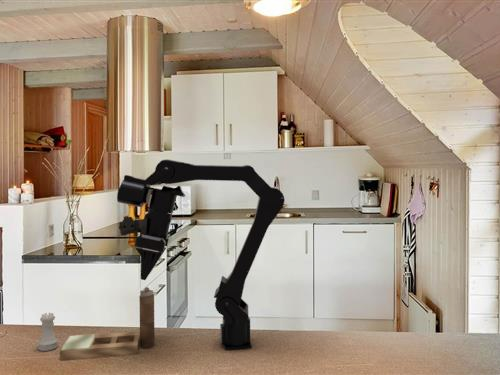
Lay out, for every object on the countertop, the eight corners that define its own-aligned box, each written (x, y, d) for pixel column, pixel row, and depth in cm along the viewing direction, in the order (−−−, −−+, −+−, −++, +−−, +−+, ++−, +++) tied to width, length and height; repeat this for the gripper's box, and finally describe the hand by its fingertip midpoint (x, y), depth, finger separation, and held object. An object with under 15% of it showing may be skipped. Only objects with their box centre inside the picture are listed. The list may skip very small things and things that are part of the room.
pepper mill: (154, 342, 103) (154, 285, 103) (154, 347, 100) (153, 288, 100) (140, 343, 103) (139, 286, 103) (139, 349, 99) (138, 289, 99)
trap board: (139, 339, 105) (139, 330, 105) (137, 353, 97) (137, 344, 97) (69, 344, 102) (69, 335, 102) (59, 360, 93) (59, 350, 93)
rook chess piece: (50, 352, 98) (49, 317, 98) (33, 351, 99) (32, 316, 99) (62, 345, 102) (61, 312, 102) (45, 343, 103) (45, 310, 103)
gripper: (131, 205, 109) (117, 265, 108) (119, 203, 91) (102, 275, 89) (174, 214, 111) (160, 273, 109) (171, 214, 92) (154, 286, 91)
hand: (145, 276), depth 100 cm, fingers open, 9 cm apart
